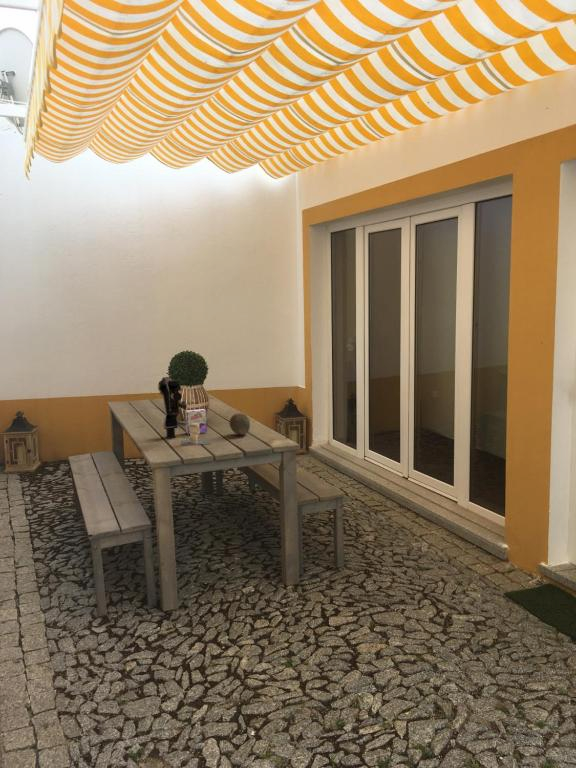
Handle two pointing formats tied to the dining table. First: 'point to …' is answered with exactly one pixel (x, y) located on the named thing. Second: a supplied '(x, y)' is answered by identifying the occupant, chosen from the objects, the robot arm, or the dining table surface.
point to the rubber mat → (187, 442)
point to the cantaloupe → (239, 424)
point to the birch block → (194, 433)
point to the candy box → (196, 419)
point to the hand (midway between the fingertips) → (174, 422)
